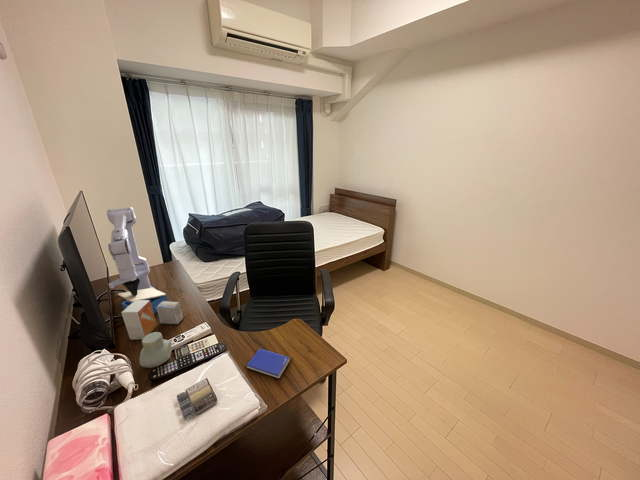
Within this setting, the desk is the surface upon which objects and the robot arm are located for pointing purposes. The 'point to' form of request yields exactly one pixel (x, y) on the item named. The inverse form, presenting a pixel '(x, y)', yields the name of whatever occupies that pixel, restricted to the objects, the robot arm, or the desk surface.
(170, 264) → the desk surface
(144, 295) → the lid
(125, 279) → the robot arm
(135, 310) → the small box
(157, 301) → the case
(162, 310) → the medicine box
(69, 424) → the desk surface
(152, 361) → the air freshener
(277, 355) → the hard drive
